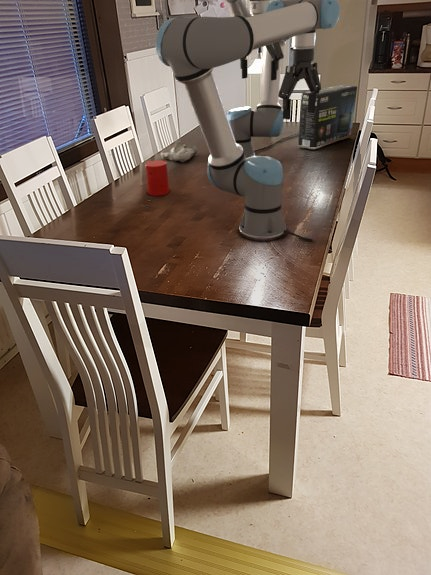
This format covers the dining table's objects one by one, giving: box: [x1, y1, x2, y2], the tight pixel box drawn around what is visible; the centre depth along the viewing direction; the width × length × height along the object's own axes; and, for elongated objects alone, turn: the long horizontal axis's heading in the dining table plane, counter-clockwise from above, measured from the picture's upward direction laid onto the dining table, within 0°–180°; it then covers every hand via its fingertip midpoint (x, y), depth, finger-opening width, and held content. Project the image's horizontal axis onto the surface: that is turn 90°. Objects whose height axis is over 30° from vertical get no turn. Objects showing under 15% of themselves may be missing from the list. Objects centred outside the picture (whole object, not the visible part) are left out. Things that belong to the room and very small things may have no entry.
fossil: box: [160, 142, 199, 163], centre depth 229 cm, size 18×11×15 cm
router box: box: [297, 84, 358, 151], centre depth 238 cm, size 36×11×27 cm, turn 134°
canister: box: [144, 160, 170, 197], centre depth 184 cm, size 8×8×12 cm
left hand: (258, 79), depth 176 cm, fingers open, 13 cm apart
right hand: (299, 115), depth 161 cm, fingers open, 13 cm apart
